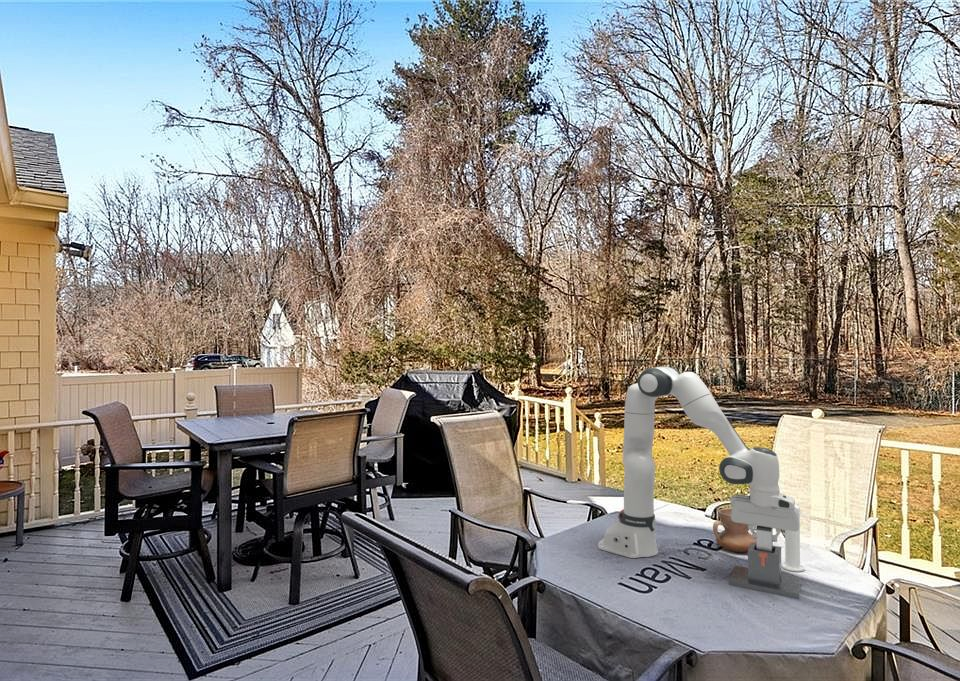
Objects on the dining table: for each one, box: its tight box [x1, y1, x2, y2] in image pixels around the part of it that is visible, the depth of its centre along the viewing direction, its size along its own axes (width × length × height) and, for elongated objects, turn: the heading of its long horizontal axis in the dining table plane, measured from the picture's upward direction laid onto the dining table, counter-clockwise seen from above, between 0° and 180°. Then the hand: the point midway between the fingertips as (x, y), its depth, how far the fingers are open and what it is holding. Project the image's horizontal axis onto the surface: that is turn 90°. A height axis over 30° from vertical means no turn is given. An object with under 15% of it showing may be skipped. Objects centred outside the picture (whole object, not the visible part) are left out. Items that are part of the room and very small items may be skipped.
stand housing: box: [728, 542, 802, 599], centre depth 187 cm, size 20×14×12 cm
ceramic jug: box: [712, 507, 757, 553], centre depth 218 cm, size 18×14×14 cm
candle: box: [781, 496, 805, 573], centre depth 199 cm, size 7×7×25 cm
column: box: [755, 526, 774, 553], centre depth 187 cm, size 5×5×16 cm
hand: (764, 539), depth 187 cm, fingers open, 4 cm apart
